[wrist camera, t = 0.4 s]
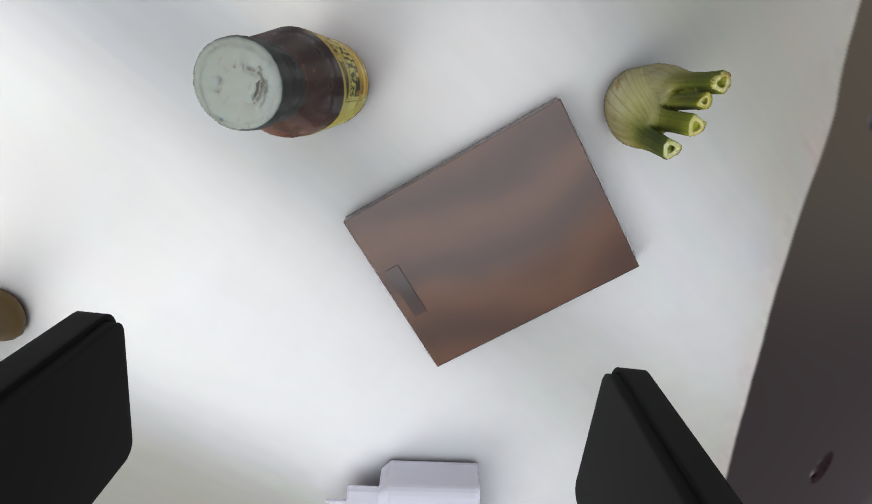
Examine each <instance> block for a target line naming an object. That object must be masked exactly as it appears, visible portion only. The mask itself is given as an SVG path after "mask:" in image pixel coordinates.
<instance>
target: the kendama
mask: <svg viewBox="0 0 872 504" xmlns="http://www.w3.org/2000/svg"><path fill="white" fill-rule="evenodd" d="M25 327H26V314H25V312H24V310H23V308H22V305H21V304H20V303H19V302H18V300H17V299H16V298H15V297H14V296H13V295H11V294H9V293H7V292H5V291H3V290H0V341H8V340H13V339H15V338H17V337H18V336H20V335H22V334H23V332H24V329H25Z"/></svg>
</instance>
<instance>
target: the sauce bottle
mask: <svg viewBox="0 0 872 504" xmlns="http://www.w3.org/2000/svg"><path fill="white" fill-rule="evenodd" d="M193 85H194V87H195V93H196V95H197V98H198V100H199V102H200V104H201V106H202V107H203V109H204V110H205V111H206V112H207V113H208V114H209V115H210V116H211V117H212V118H213V119H214V120H216V121H217V122H218V123H219V124H221V125H223V126H225V127H227V128H230V129H234V130H242V131H249V130H260V129H261V130H263V131H265V132H267V133H269V134H271V135H275V136H281V137H290V138H293V137H298V136H305V135H311V134H314V133H317V132H320V131H322V130H325V129H328V128H330V127H333V126H336V125H339V124H342V123H344V122H346V121H348V120H350V119H351V118H353V117H354V116H355V115H356V114H357V113H358V112H359V111H360V110H361V108H362V107H363V106H364V103H365V101H366V98H367V94H368V89H369V81H368V76H367V72H366V69H365V67H364V65H363V63H362V61H361V59H360V58H359V57H358V55H357V54H356V53H355V52H354V51H353V50H352V49H351V48H350V47H348V46H346V45H345V44H343V43H341V42H338V41H336V40H333V39H330V38H327V37H325V36H322V35H319V34H316V33H313V32H311V31H309V30H306V29H302V28H299V27H293V26H286V27H280V28H277V29H273V30H270V31H267V32H264V33H260V34H257V35H254V36H250V37H248V36H239V35H232V36H226V37H222V38H219V39H216V40H214V41H213V42H212V43H210V44H208V45H207V46H206V47H204V49H203V51H202V52H201V53H200V54H199V56H198V58H197V61H196V64H195V67H194V80H193Z"/></svg>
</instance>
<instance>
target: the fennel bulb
mask: <svg viewBox="0 0 872 504" xmlns="http://www.w3.org/2000/svg"><path fill="white" fill-rule="evenodd" d="M730 83H731V74H730V73H729V72H727V71H724V70H721V71H711V72H691V71H688V70H685V69H683V68H681V67H678V66H676V65H669V64H661V63H656V64H650V65H647V66H643V67H637V68H631V69H628V70H626V71H624V72H623V73H621V74H620V75H619V76H618V77H616V78H615V79H614V81H613V82H612V84H611V85H610V87H609V88H608V90H607V93H606V96H605V100H604V112H605V117H606V120H607V123H608V126H609V128H610V130H611V132H612V133H613V135H614V136H615V137H616V138H617V139H618V140H619V141H620V142H622V143H623V144H625V145H627V146H630V147H634V148H638V149H639V148H640V149H644V150H647V151H650V152H652V153H654V154H656V155H658V156H660V157H662V158H663V159H666V160H667V159H671V158H672V157H673V156H675V155H678V153H679V152H680V151H681V149H682V145H680V144H679V143H678V142H676V141H674V140H672V139H670V138H668V137H667V136H665V135H663V134H664V133H665V132H673V133H677V134H681V135H686V136H695V135H697V134H699V133H700V132H702V131H703V130H704V128H705V126H706V121H703V120H702V119H701V118H699V117H698V116H697V115H696V114H693V113H687V112H681V111H679V110H693V109H694V110H695V109H697V110H701V109H708V108H709V107H710V106H711V103H712V95H711V94H724V93H725V92H726V91H727V89H728V88H729V87H730V85H731V84H730ZM678 111H679V112H678Z"/></svg>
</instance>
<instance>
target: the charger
mask: <svg viewBox="0 0 872 504" xmlns="http://www.w3.org/2000/svg"><path fill="white" fill-rule="evenodd" d="M326 504H480V484H479V475H478V466H477V463H458V462H427V461H395V460H391V461H390V462H389V463H387V464H386V465H385V466H384V467H383V468H381V476H380V484H379V486H361V485H348V487H347V500H346V499H327V500H326Z"/></svg>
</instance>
